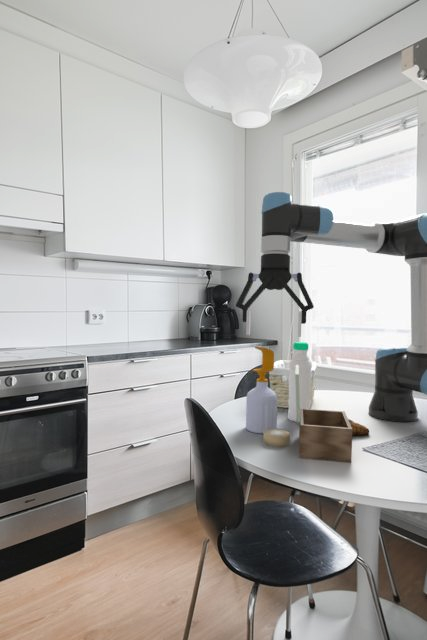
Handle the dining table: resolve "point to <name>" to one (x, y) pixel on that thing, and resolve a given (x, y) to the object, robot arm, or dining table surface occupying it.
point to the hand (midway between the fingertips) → (273, 335)
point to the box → (325, 435)
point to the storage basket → (286, 381)
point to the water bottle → (304, 379)
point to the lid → (297, 396)
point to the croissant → (358, 429)
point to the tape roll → (276, 437)
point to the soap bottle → (262, 398)
